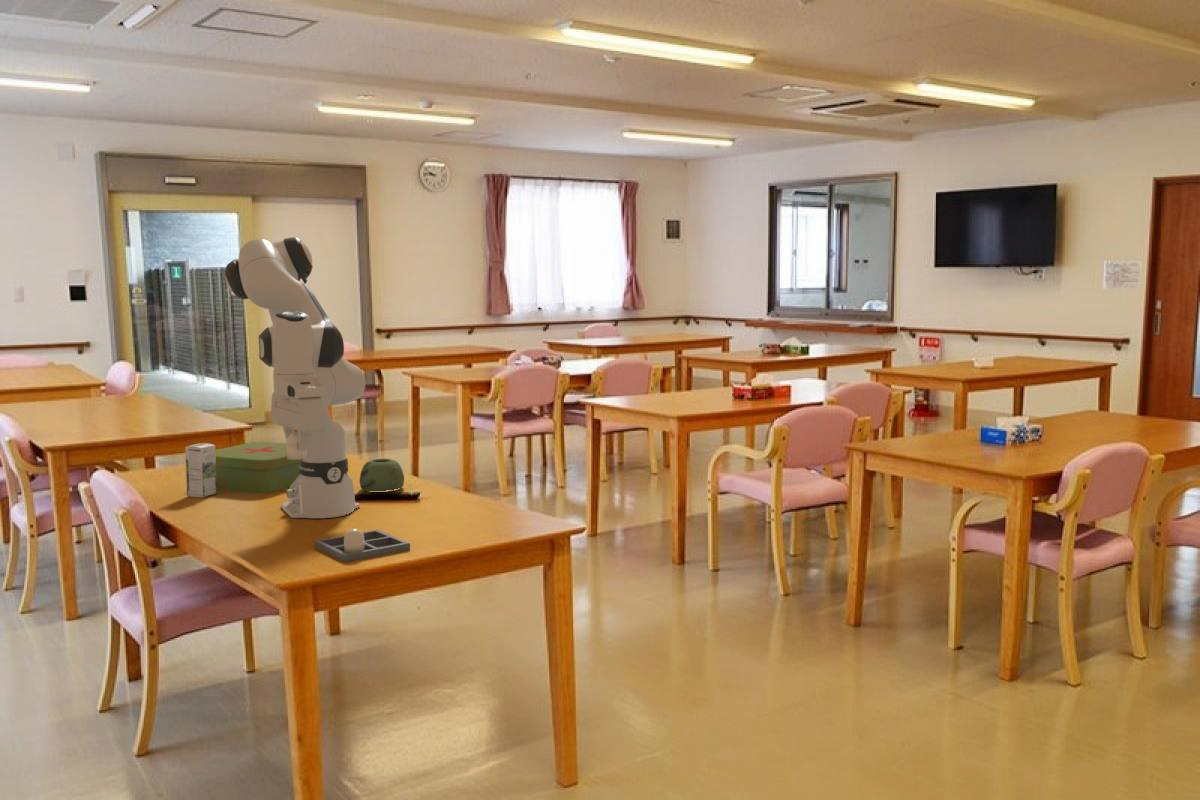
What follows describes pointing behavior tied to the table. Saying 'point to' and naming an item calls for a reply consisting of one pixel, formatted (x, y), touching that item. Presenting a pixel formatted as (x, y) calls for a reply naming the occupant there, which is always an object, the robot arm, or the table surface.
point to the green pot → (381, 475)
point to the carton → (374, 546)
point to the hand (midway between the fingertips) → (297, 448)
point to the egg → (294, 448)
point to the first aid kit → (255, 467)
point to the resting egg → (354, 541)
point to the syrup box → (201, 470)
